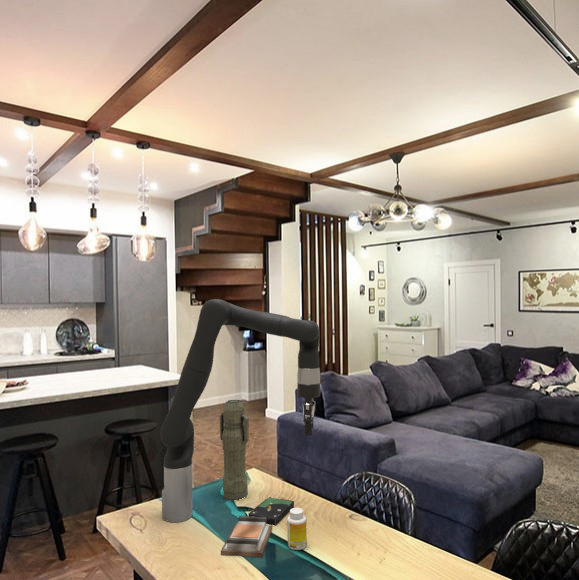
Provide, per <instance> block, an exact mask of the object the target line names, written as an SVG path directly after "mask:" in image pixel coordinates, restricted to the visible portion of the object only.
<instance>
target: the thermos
mask: <svg viewBox="0 0 579 580" xmlns="http://www.w3.org/2000/svg"><path fill="white" fill-rule="evenodd" d="M249 423H250V421H249V416H248V415H247V414H245V406H244V404H243V402H242V400H239V399H229V400H227V401H225V403H224V406H223V412H221V413H220V415H219V433H220V434H219V436H220V441H221V442H222V450H223V476H222V491H223V495H222V497H223V499H224V498H225V499H224V500H227V501H229V500H231V501H230V502H233V501H232V500H237V501H240V500H239V499H242V498H244V497H245V498H246V497H247V496H248V477H247V474H246V473H247V472H246V449H247V443H248V442H249V441H250V439H249ZM245 498H244V499H245ZM242 500H243V499H242Z"/></svg>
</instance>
